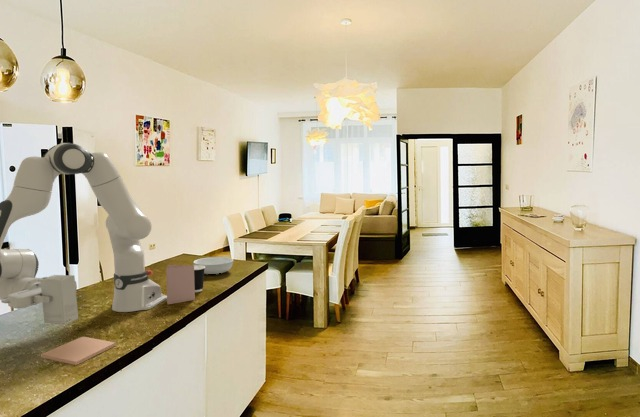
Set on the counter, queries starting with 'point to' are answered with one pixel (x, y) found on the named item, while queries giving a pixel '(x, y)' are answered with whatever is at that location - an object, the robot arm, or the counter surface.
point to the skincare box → (59, 299)
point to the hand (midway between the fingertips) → (61, 295)
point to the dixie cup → (198, 277)
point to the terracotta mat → (78, 350)
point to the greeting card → (180, 283)
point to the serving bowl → (215, 264)
